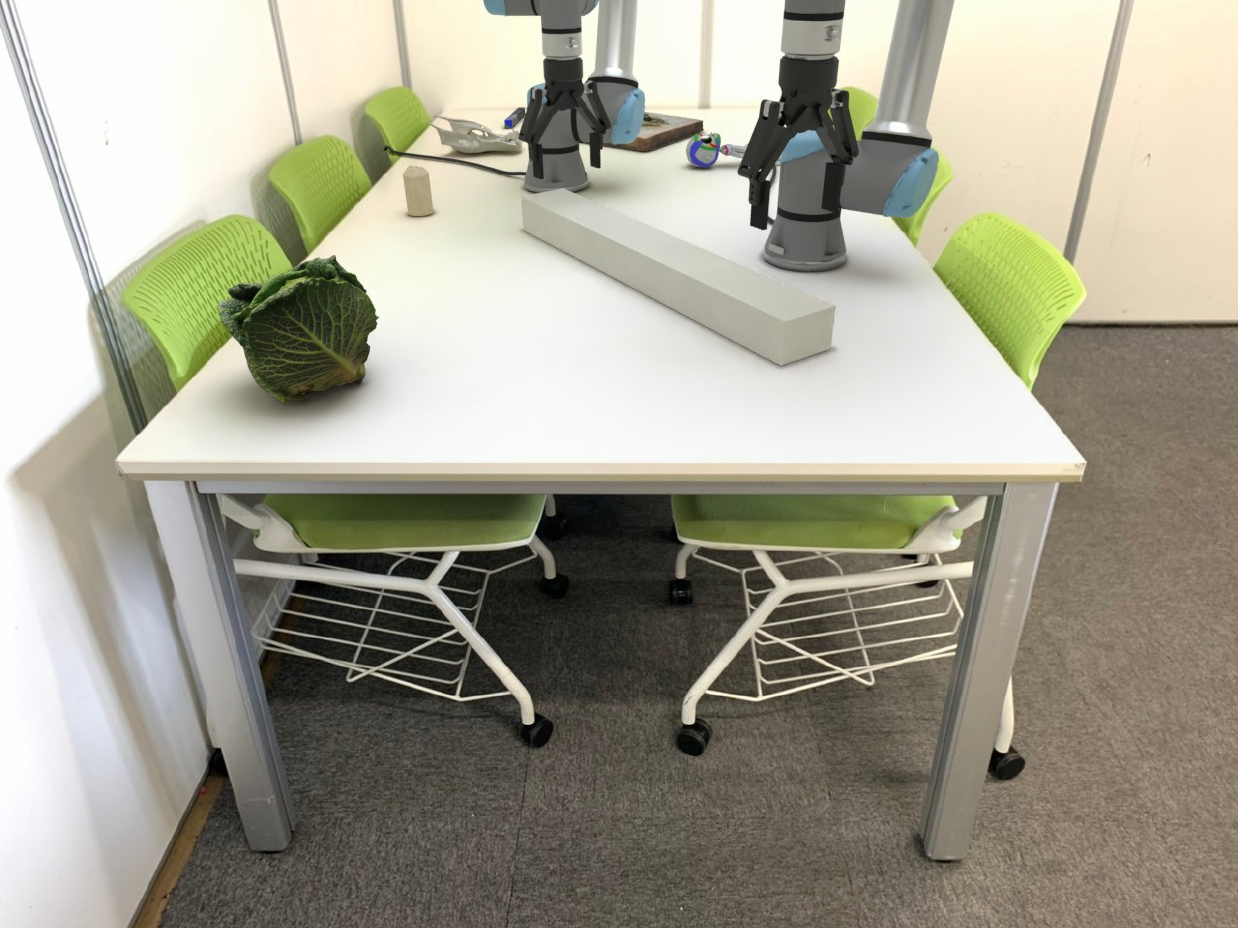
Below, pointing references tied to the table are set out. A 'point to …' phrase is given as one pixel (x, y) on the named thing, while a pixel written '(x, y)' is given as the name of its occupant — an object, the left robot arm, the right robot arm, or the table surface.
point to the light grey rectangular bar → (684, 276)
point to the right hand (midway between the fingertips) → (794, 219)
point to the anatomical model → (476, 137)
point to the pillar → (514, 117)
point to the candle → (418, 191)
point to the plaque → (661, 131)
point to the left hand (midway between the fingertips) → (567, 172)
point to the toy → (711, 150)
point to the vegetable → (302, 328)
